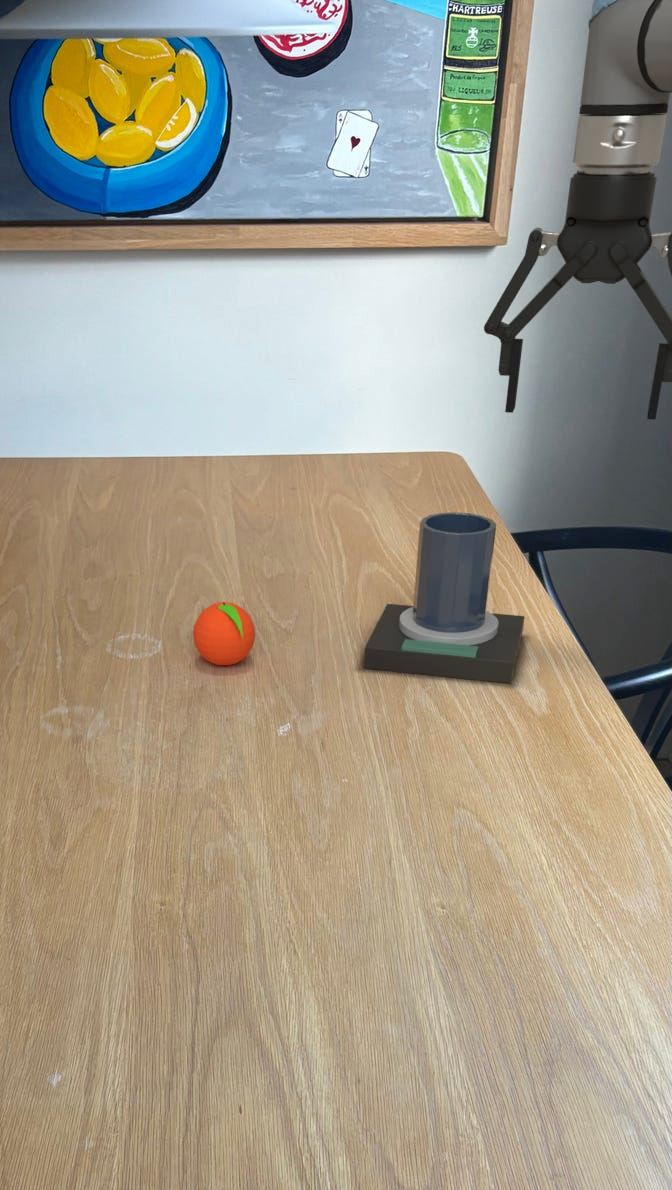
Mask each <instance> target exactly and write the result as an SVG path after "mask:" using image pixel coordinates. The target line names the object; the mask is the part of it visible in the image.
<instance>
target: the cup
mask: <svg viewBox="0 0 672 1190" xmlns="http://www.w3.org/2000/svg"><path fill="white" fill-rule="evenodd" d="M496 529H497V523H496V522H495V520H493V519H492V518H489V517H486V516H484V515H480V514H475V513H470V512H459V511H458V512H455V511H454V512H439V513H433V514H430V515H427V516H425V517H422V519H421V520H420V522H419V530H418V543H417V554H416V556H417V557H416V567H415V568H416V569H415V579H414V591H413V592H414V593H413V604H412V606H413V620H414V622H415V623H416V624H418V625H419V626H421V627H423V628H426V629H429V630H433V631H439V632H448V633H458V632H467V631H472V630H475V629H478V628H480V627H481V626H483V625H484V623H485V616H486V611H488V602H489V601H488V600H489V593H490V585H491V574H492V566H493V558H494V557H493V556H494V549H495V547H494V546H495V539H496Z"/></svg>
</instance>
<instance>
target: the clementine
mask: <svg viewBox="0 0 672 1190" xmlns="http://www.w3.org/2000/svg"><path fill="white" fill-rule="evenodd" d="M192 636H193V643H194V646H195V648H196V650H197V652H198V653H199V655H201V657H202V658H203V659H204V660H205V661H207V662H209V663H211V664H212V665H217V666H231V665H235V664H237V663H239V662H241V661H242V660H244V659H245V658H246V657H247V656H248V655H249V654H250V652H251V650H252V648H253V646H254V643H255V639H256V629H255V625H254V622H253V619H252V617H251V615H250V614H249V613H248V612H247V611H246V609H244V608H242V607H241V606H239V605H238V604H235V603H233V602H229V601H228V602H227V601H220V602H216V603H213V604H210V605H209V606H208V607H206V608H205V609H203V610H202V611H201V612H200V614H199V615H198V616H197V618H196V620H195V623H194V626H193V630H192Z"/></svg>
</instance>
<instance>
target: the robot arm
mask: <svg viewBox="0 0 672 1190" xmlns="http://www.w3.org/2000/svg"><path fill="white" fill-rule="evenodd" d="M587 24H588V25H587V26H588V38H587V45H586V52H585V53H586V54H585V62H584V70H583V79H582V85H581V86H582V87H581V95H580V105H579V106H580V107H579V112H578V114H579V115H578V116H577V126H576V134H575V142H574V149H573V157H572V164H573V165H574V167H577V168H578V170H576V172H575V173H573V175H572V177H570V180H569V189H568V196H567V204H566V205H567V206H566V212H565V220H564V225H563V227H562V229H561V231H560V232H556V231H555V232H553V231H549V230H548V231H547V230H543V229H542V228H541V227H535V228H533V229H532V231H530V233H529V235H528V238H527V244H526V247H525V253H524V256H523V258H522V260H521V262H520V263H519V265H518V266H517V268H516V270H515V272H514V274H513V275H512V277H511V278H510V281H509V282H508V284H507V286H506V287H505V289H504V291H503V293H502V294H501V296H500V298H499V299H498V301H497V303H496V305H495V306H494V308H493V310H492V311H491V313H490V315H489V317H488V318H487V320H486V322H485V324H484V326H483V331H484V333H485V334H486V335H491V336H494V337H495V338H498V340H499V341H500V352H499V361H498V374H499V376H504V377H505V376H506V377H508V384H507V391H506V392H507V393H506V402H505V410H504V413H510V414H511V413H512V414H513V413H514V411H515V409H516V404H517V403H516V402H517V397H518V396H517V395H518V388H519V387H518V386H519V379H520V378H519V377H520V369H521V362H522V353H523V352H522V351H523V344H524V339H523V338H517V336H518V335H519V333H521V331H523V330H524V329H525V327H526V326H527V325H528V324H529V323H531V321H532V320H533V319H534V318H535V317H536V316H537V315H538V313H540V312H541V310H542V309H543V308H544V307H545V306H547V304H548V303H549V302H550V301H551V300H552V299H553V298H554V297H555V296H556V294H558V293H559V292H560V290H562V289H563V287H565V285H567V283H568V282H569V281H570V280H571V279H572V278H574V279H575V280H576V281H577V282H580V283H581V284H592V283H596V282H599V283H603V284H606V285H615V284H616V283H619V282H621V281H623V280H624V279H626V282H628V284H629V285H630V287H631V288H632V290H633V291H634V292H635V295H637V297H638V299H639V301H640V302H641V303H642V305H643V306H644V308H645V309H646V311H647V313H648V315H649V316H650V317H651V319H652V320H653V322H654V323H655V325H656V327H657V328H658V330H659V331H660V333H661V335H662V336H663V337H664V339H665V340H666V343H662V342H661V343H658V349H657V354H656V361H655V367H654V372H653V377H652V383H651V390H650V396H649V401H648V407H647V413H646V414H647V415H646V419H647V420H656V419H657V412H658V406H659V401H660V395H661V390H662V384H663V383H672V315H671V314H670V313H669V312H668V310H667V308H666V307H665V305H664V304H663V302H662V301H661V299H660V297H659V296H658V294H657V292H656V291H655V290H654V287H652V285H651V284H650V282H649V280H648V279H647V277H646V275H645V273H644V272H643V270H642V268H641V267H640V266H639V262H640V261H641V260H642V258H643V257H645V255H646V254H647V253H648V252H649V251H650V249H651V247H652V248H656V249H657V252H658V255H659V257H660V258H662V259H667V264H668V269H669V272H670V275H671V277H672V230H670V231H667V232H658V233H652V232H651V226H650V222H651V217H652V210H653V205H654V197H655V191H656V185H657V176H656V174H655V172H652V167H656V166H657V165H658V164H659V163H660V161H661V154H662V148H663V142H664V135H665V130H666V122H667V117H668V114H667V113H668V109H669V102H670V97H671V93H672V0H593V2H592V8H591V13H590V18H589V19H588V22H587ZM552 247H557V250H558V251H559V253H560V255H561V257H562V259H563V261H564V262H565V263H564V264H563V265H562V266H561V267H560V269H559V270H558V271H557V272H555V274H554V275H553V276H552V277H551V278H550V280H549V281H547V282H546V284H544V286H543V287H542V288H541V289H540V290H539V291H538V292H537V293H536V294H535V296H533V298H532V299H530V301H529V302H528V303H527V304H526V305H525V306H524V307H523V308H522V310H521V311H519V313H518V314H517V315H516V316H515V317H514V318H513V319H512V320H511V321H510V322H509V323H506V322H503V319H504V318H505V316H506V314H507V313H508V311H509V309H510V307H511V306H512V304H513V302H514V300H515V299H516V297H517V295H518V294H519V293H520V291H521V289H522V287H523V285H524V284H525V282H526V280H527V279H528V276H529V275H530V274H531V271H532V270H533V268H534V267H535V265H536V263H537V261H538V259H539V257H545V256H546V255H547V254H548V253H549V250H550V249H551V248H552Z"/></svg>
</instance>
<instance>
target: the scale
mask: <svg viewBox="0 0 672 1190" xmlns="http://www.w3.org/2000/svg"><path fill="white" fill-rule="evenodd" d="M524 624H525V615H516V614H505V613H493V612H490V611H488V610H486V616H485V623H484V625H483V626H481V627H480V628H478V629H475V630H472V631H467V632H458V633H448V632H439V631H433V630H429V629H426V628H423V627H421V626H419V625H418V624H416V623H415V622H414V620H413V605H407V604H397V603H396V604H395V603H394V604H393V603H387V604H386V605H385V607H384V609H383V611H382V613H381V615H380V617H379V619H378V621H377V623H376V625H375V626H374V629H373V630H372V633H371V635H370V637H369V639H368V641H367V642H366V645H365V647H364V658H363V669H369V670H378V671H386V672H387V671H388V672H397V673H406V674H415V675H424V676H434V677H444V678H452V679H460V680H461V679H462V680H471V681H472V680H473V681H480V682H490V683H501V684H512V680H513V676H514V671H515V668H516V663H517V659H518V655H519V650H520V646H521V642H522V638H523V633H524V626H525V625H524Z"/></svg>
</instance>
